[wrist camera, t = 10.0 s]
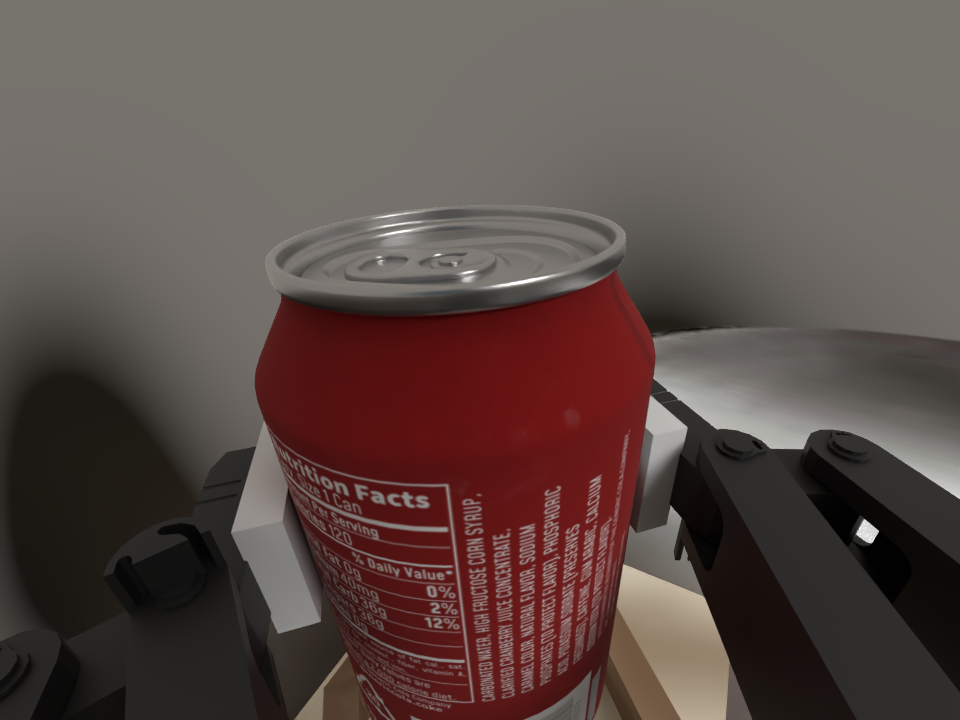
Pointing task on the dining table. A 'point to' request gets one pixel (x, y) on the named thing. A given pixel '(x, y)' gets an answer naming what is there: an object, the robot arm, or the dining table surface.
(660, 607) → the ring board
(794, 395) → the dining table surface
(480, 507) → the soda can
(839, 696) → the robot arm
